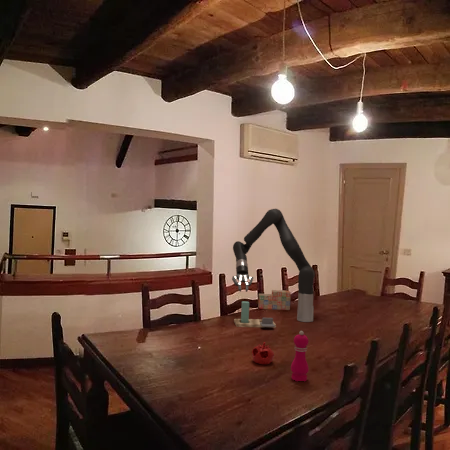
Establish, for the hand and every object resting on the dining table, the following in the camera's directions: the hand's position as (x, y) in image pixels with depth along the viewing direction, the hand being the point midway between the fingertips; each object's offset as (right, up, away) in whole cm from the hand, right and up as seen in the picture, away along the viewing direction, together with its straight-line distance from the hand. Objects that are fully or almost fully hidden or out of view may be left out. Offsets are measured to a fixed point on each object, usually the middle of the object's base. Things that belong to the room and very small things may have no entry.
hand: (243, 290), depth 273 cm
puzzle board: (+6, -19, -9) cm, 22 cm away
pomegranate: (+6, -22, -71) cm, 75 cm away
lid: (+13, -17, -17) cm, 28 cm away
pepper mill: (+19, -23, -89) cm, 94 cm away
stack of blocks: (+23, -18, +37) cm, 46 cm away
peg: (0, -18, -10) cm, 21 cm away
